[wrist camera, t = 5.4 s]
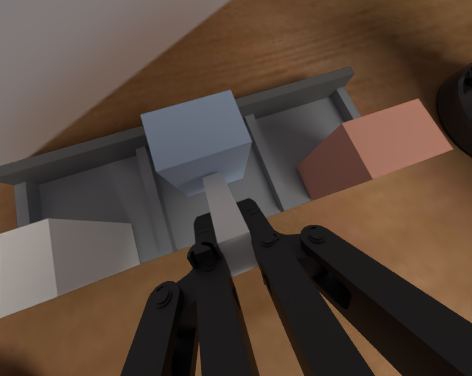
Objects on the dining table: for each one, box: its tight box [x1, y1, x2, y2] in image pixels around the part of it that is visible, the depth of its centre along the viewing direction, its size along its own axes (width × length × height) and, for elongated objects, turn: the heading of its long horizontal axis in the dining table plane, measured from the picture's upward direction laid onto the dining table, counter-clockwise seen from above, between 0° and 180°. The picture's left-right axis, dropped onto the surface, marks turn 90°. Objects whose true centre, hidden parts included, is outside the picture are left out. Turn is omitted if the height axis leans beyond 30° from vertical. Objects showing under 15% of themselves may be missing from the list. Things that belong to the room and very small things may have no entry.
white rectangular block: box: [0, 218, 140, 318], centre depth 12 cm, size 6×4×8 cm, turn 110°
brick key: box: [296, 99, 453, 200], centre depth 15 cm, size 6×4×8 cm, turn 110°
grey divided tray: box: [0, 67, 361, 264], centre depth 18 cm, size 36×12×4 cm, turn 110°
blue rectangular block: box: [141, 90, 252, 197], centre depth 15 cm, size 6×4×8 cm, turn 110°
